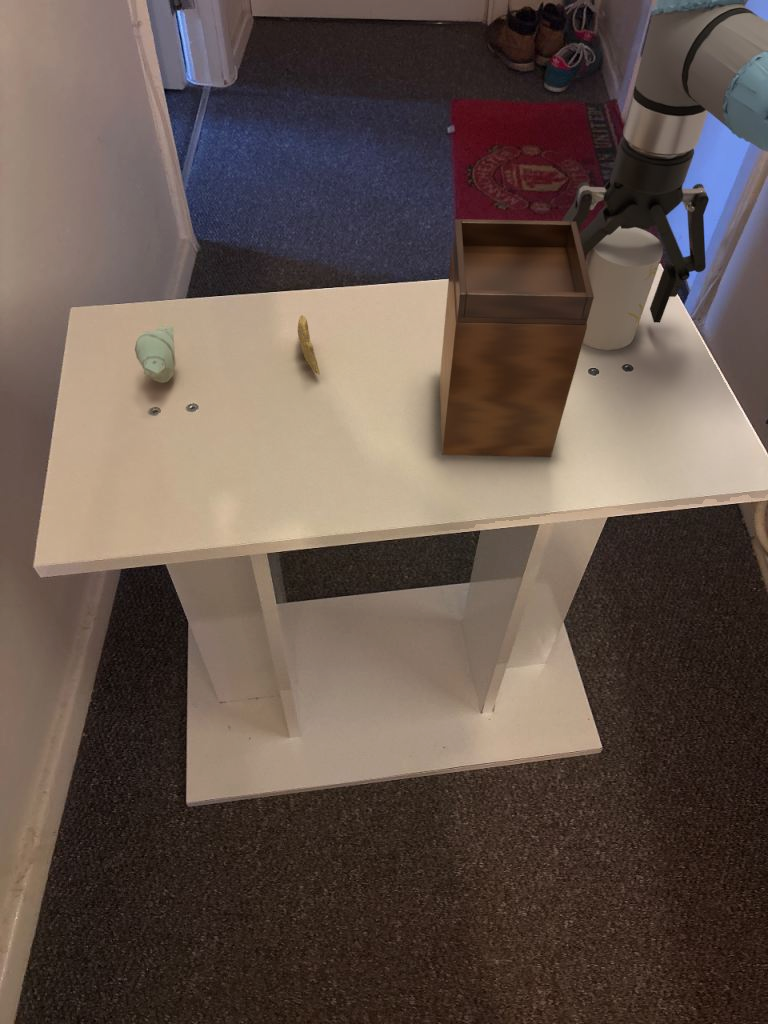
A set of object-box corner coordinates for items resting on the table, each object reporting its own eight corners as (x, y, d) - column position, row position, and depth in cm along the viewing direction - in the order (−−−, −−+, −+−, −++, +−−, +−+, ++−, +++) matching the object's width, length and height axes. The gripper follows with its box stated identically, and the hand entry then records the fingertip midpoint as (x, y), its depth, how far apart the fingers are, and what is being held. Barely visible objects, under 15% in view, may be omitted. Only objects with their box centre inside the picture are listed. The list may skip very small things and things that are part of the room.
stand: (539, 381, 90) (570, 248, 76) (551, 456, 83) (587, 325, 69) (439, 379, 90) (451, 246, 76) (442, 454, 83) (455, 323, 69)
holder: (569, 249, 76) (576, 221, 73) (586, 325, 69) (594, 296, 66) (452, 247, 76) (455, 218, 73) (456, 322, 69) (459, 294, 66)
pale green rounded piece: (172, 404, 87) (159, 359, 82) (138, 402, 87) (122, 357, 82) (187, 357, 92) (175, 312, 87) (154, 356, 92) (140, 311, 87)
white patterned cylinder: (636, 353, 93) (665, 269, 84) (569, 346, 94) (591, 262, 84) (633, 312, 98) (660, 229, 89) (570, 305, 99) (591, 222, 89)
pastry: (294, 338, 94) (291, 305, 91) (306, 336, 95) (303, 303, 91) (310, 385, 89) (307, 352, 85) (323, 382, 90) (320, 350, 86)
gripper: (764, 125, 79) (694, 297, 97) (538, 121, 79) (509, 294, 97) (786, 162, 75) (708, 336, 92) (546, 157, 75) (514, 332, 92)
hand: (606, 314), depth 94 cm, fingers open, 11 cm apart
